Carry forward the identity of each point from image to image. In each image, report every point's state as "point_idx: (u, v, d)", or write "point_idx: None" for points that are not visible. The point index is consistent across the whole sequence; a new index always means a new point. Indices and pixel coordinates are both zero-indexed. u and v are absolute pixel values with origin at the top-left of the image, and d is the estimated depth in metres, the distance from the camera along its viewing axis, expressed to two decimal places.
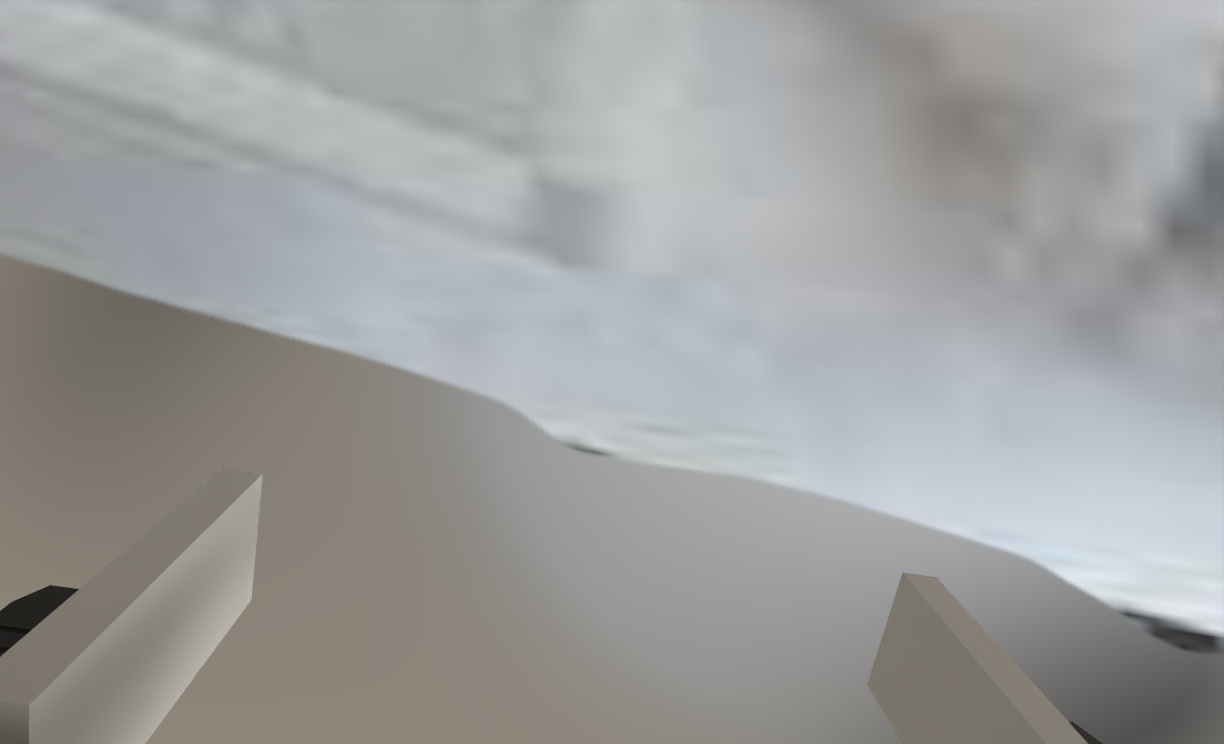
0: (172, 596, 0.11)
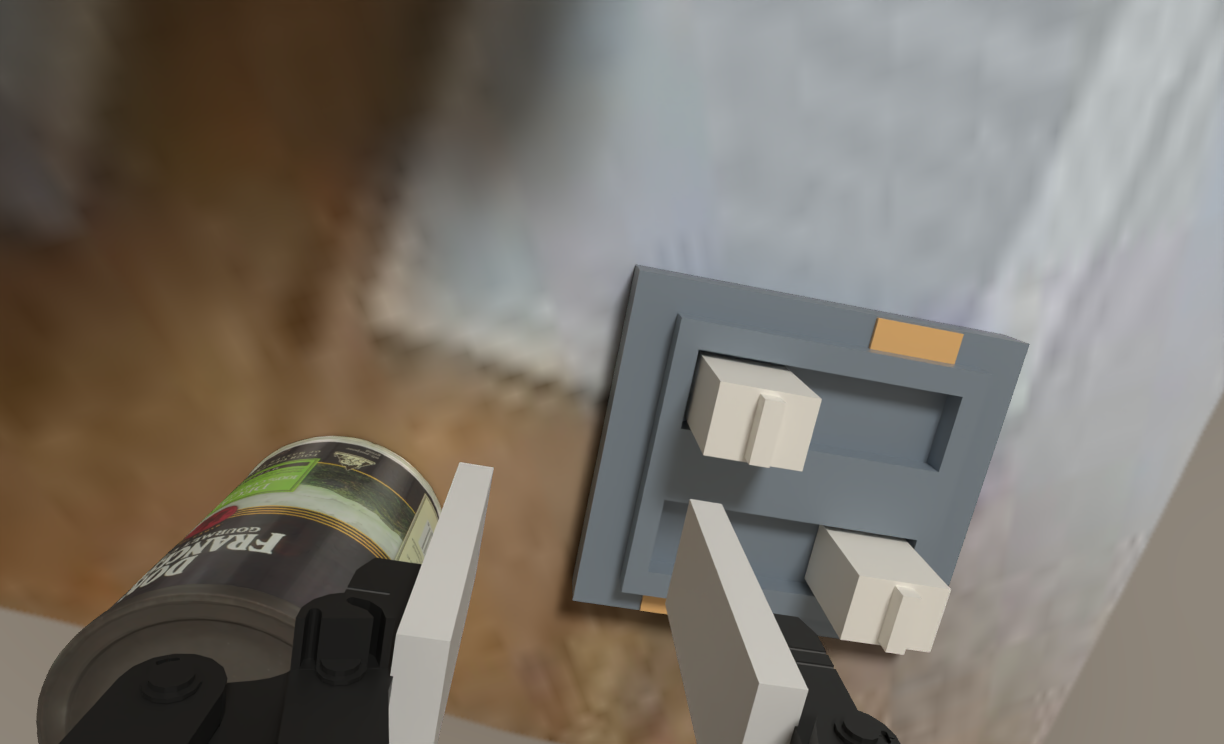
0: (471, 567, 0.14)
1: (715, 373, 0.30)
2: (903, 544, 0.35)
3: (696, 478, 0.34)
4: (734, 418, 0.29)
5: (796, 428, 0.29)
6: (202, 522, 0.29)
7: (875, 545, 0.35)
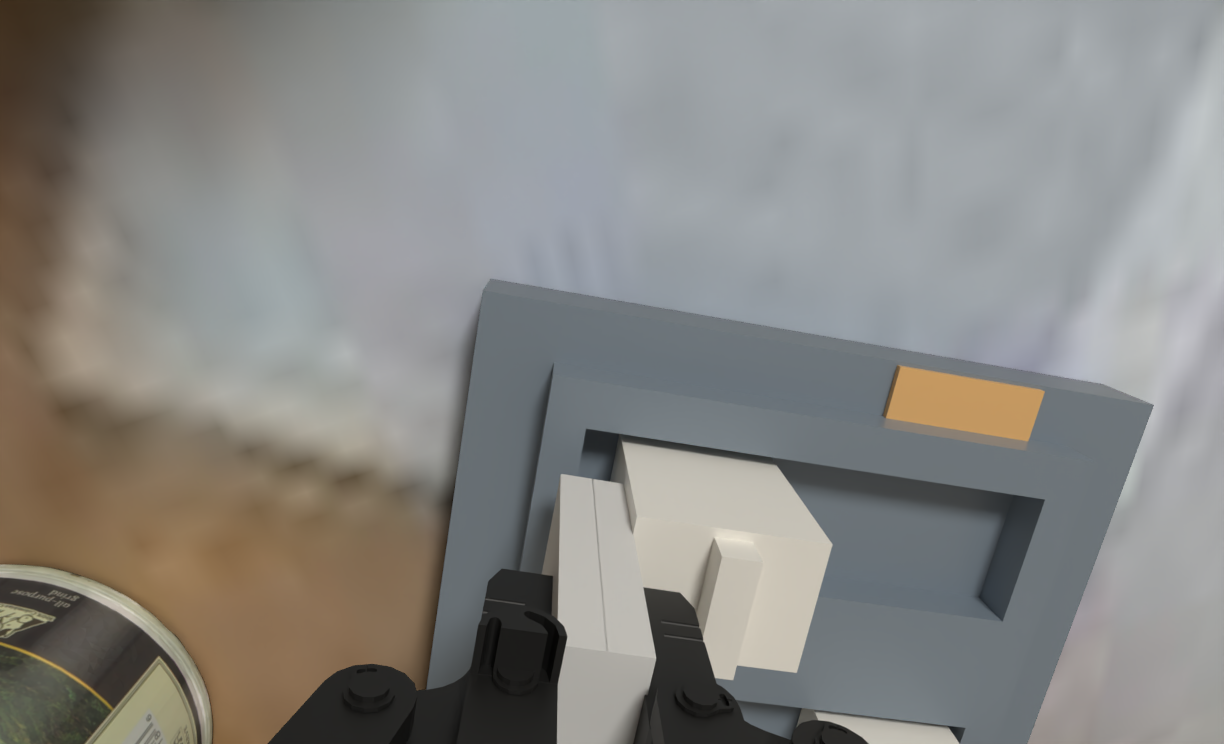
0: None
1: (633, 491, 0.16)
2: (943, 735, 0.21)
3: None
4: (666, 582, 0.15)
5: (783, 598, 0.16)
6: None
7: None
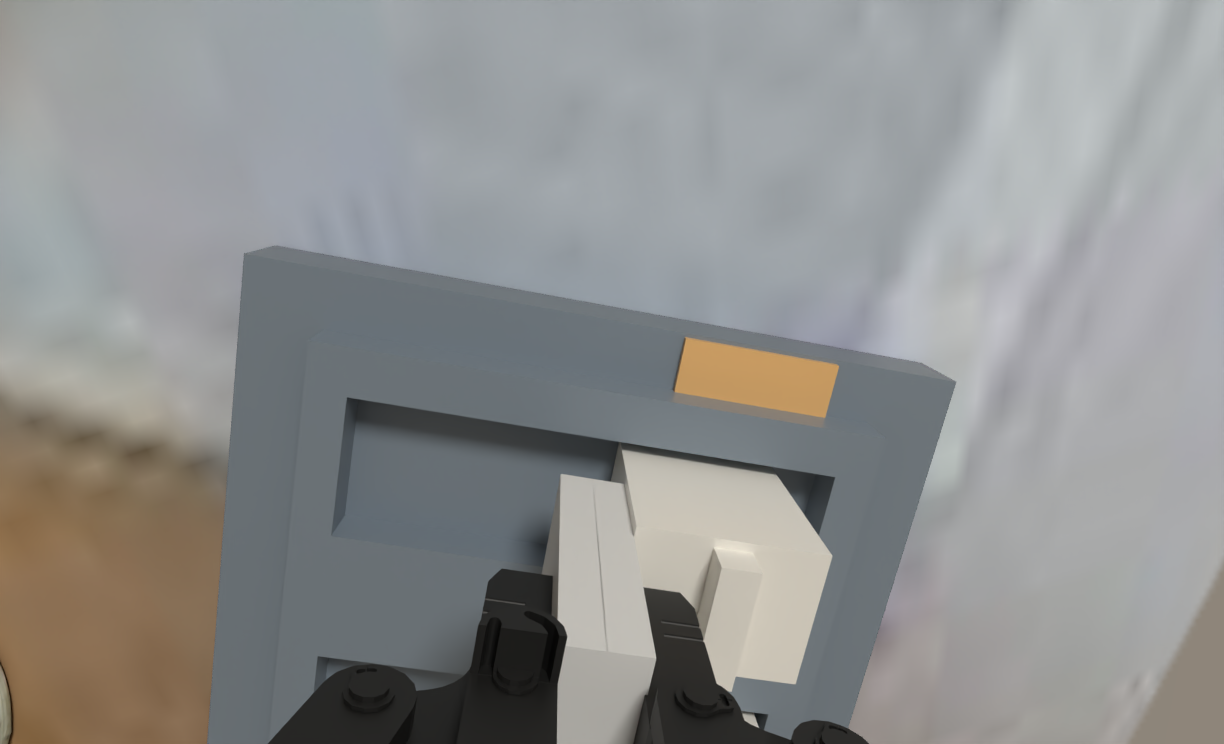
0: None
1: (632, 500, 0.16)
2: None
3: (370, 619, 0.19)
4: None
5: (783, 609, 0.16)
6: None
7: None
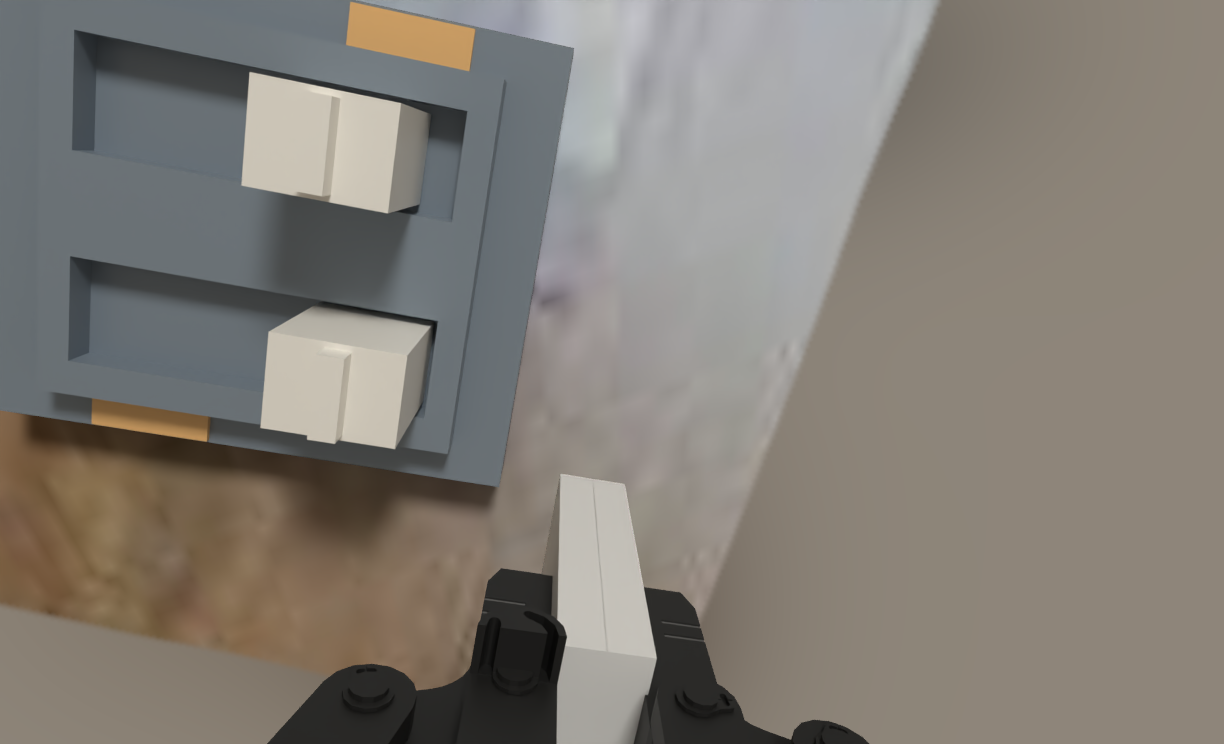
0: None
1: None
2: (418, 326, 0.26)
3: (109, 225, 0.25)
4: (278, 129, 0.21)
5: (369, 147, 0.21)
6: None
7: (367, 321, 0.26)
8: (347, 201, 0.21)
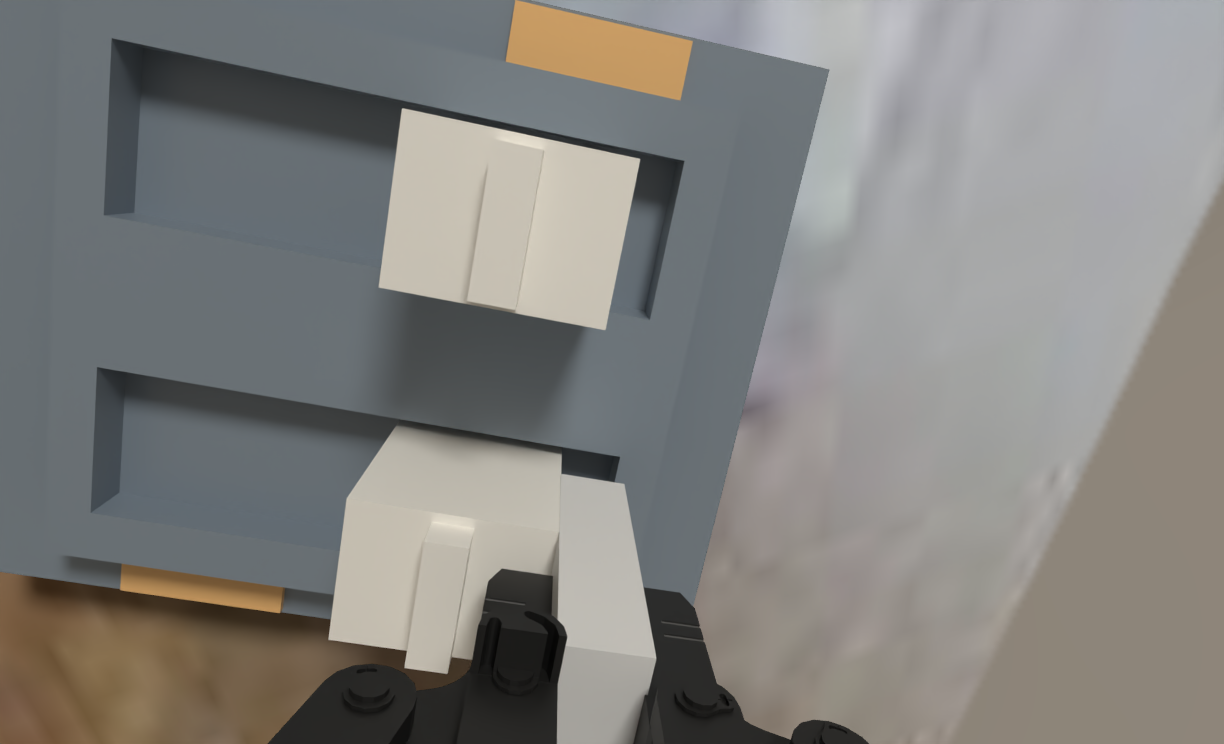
0: None
1: None
2: (546, 457, 0.18)
3: (155, 323, 0.17)
4: (443, 199, 0.13)
5: (584, 228, 0.13)
6: None
7: (477, 454, 0.18)
8: (544, 312, 0.13)
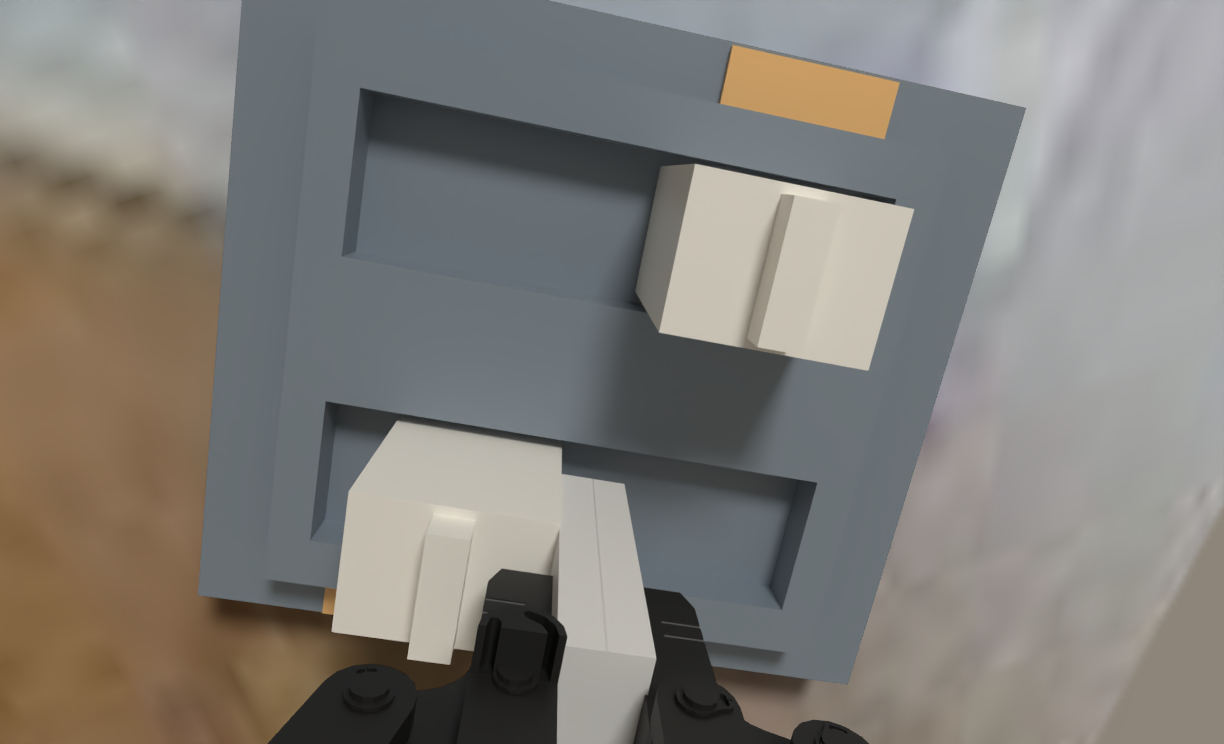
0: None
1: None
2: (547, 450, 0.18)
3: (384, 358, 0.18)
4: (726, 249, 0.14)
5: (856, 275, 0.14)
6: None
7: (478, 448, 0.18)
8: (812, 354, 0.14)
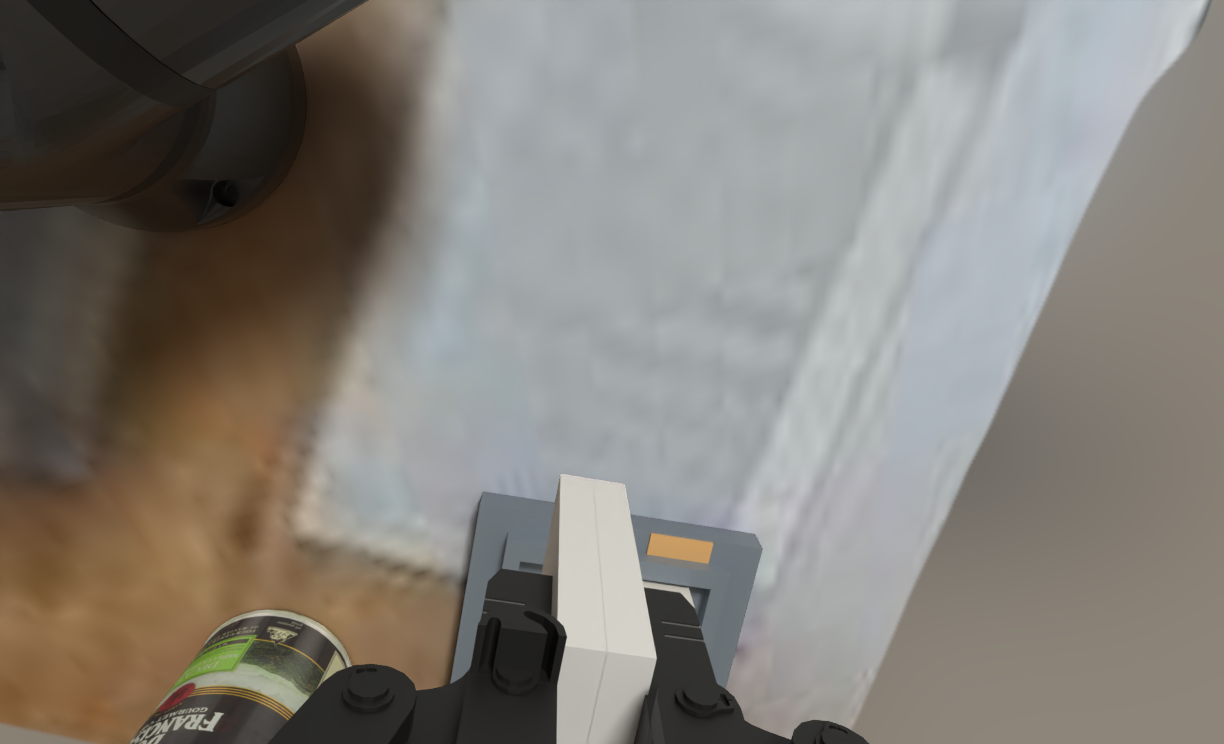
0: None
1: None
2: None
3: None
4: None
5: None
6: (171, 694, 0.43)
7: None
8: None
